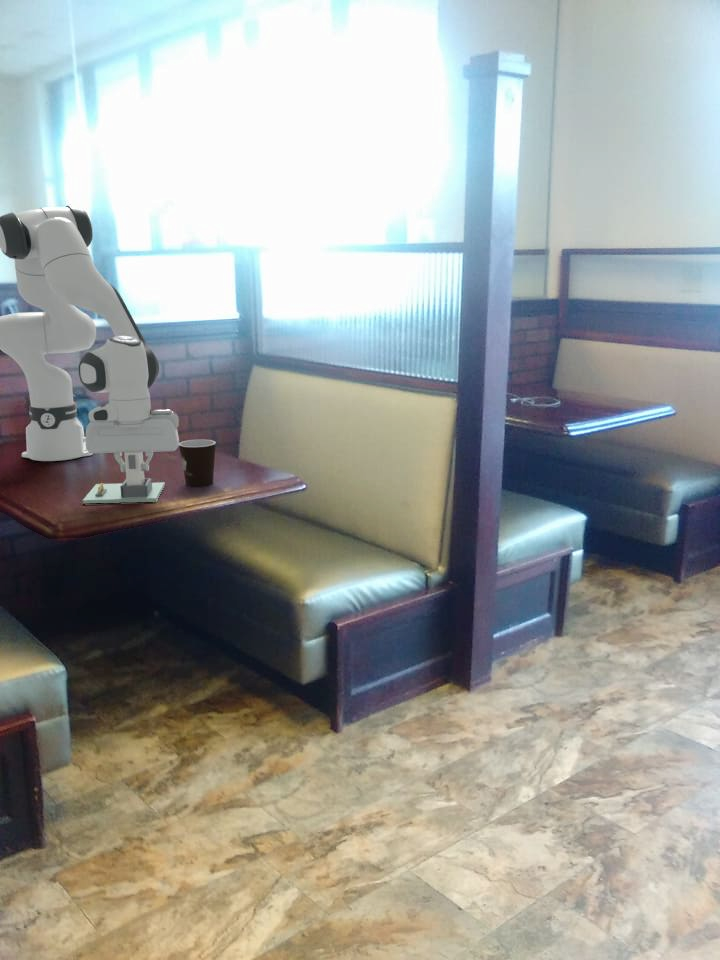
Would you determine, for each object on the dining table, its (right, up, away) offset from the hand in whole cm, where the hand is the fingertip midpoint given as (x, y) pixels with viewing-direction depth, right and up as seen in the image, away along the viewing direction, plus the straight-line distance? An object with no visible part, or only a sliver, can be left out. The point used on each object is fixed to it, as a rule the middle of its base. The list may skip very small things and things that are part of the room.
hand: (135, 471), depth 197 cm
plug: (0, -3, +1) cm, 3 cm away
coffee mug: (+12, -3, +14) cm, 19 cm away
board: (-3, -6, +3) cm, 7 cm away
